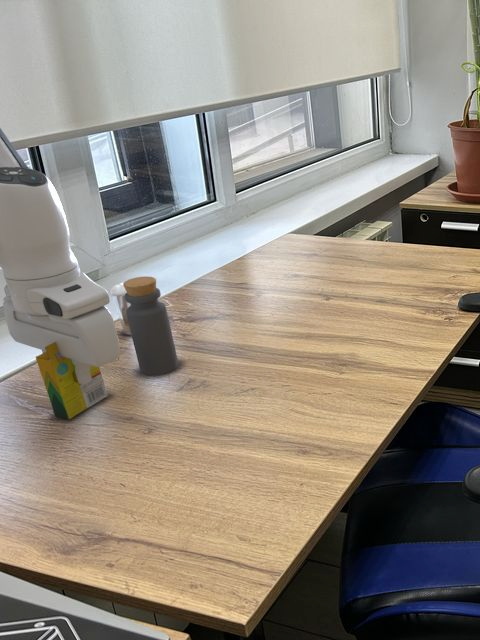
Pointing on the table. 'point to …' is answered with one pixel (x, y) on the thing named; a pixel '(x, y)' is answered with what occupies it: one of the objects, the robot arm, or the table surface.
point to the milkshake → (121, 305)
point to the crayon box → (68, 384)
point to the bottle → (150, 327)
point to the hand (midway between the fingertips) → (74, 379)
